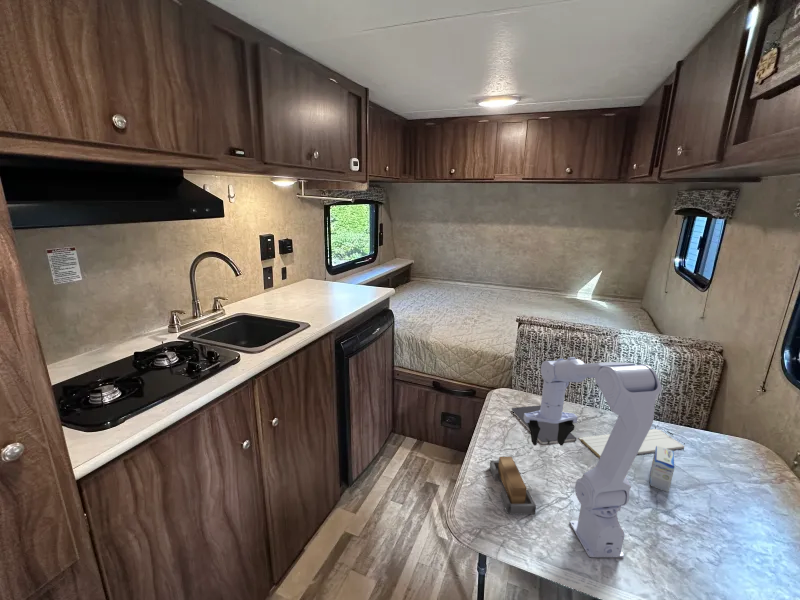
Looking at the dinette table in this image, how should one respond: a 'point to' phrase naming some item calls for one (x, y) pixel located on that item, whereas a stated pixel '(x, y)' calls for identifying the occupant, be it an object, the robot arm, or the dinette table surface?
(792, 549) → the dinette table surface
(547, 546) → the dinette table surface
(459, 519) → the dinette table surface
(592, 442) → the baseboard molding
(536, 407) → the notebook
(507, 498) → the end caps
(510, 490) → the brown wooden block
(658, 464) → the medicine box
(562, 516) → the dinette table surface
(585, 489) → the robot arm
